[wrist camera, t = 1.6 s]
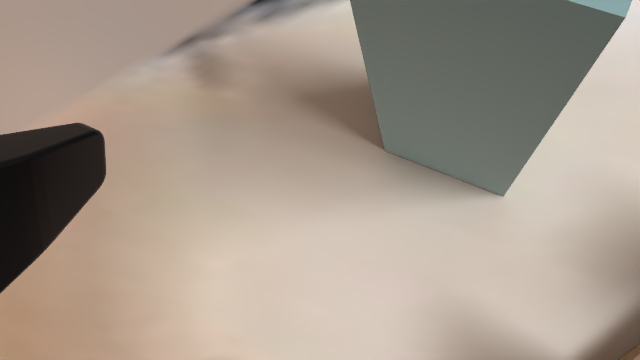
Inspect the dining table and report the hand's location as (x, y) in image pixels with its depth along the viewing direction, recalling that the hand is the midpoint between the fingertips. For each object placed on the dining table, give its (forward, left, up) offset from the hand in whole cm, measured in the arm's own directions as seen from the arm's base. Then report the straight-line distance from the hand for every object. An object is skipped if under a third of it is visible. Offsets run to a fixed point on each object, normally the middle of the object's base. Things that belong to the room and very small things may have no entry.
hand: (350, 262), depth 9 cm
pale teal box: (+5, +3, -12) cm, 14 cm away
